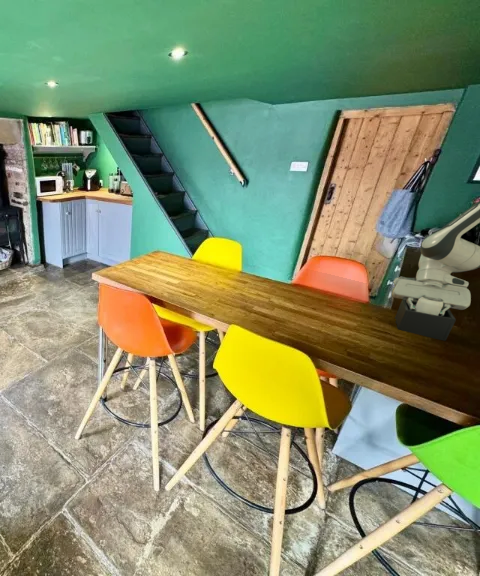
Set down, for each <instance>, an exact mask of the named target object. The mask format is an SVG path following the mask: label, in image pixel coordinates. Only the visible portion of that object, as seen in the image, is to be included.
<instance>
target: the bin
mask: <svg viewBox="0 0 480 576" xmlns="http://www.w3.org/2000/svg"><path fill="white" fill-rule="evenodd" d="M412 303H413V305H416V304H417V302H415V301H412ZM441 310H443V309H441ZM395 319H396V321H395V324H397V325H396V328H397V330H398V331H402V332H406V333H410V334H415V335H418V336H423V337H426V338H431V339H435V340H439V341H444V342H446V341H447V339H448V337H449V335H450V332H451V331H452V329H453V327H454V325H455V323H456V320H457V319H456V318H455V316H454V314H453V313H452V311H451V310H450V308H449V309H448V310H446V311H445V313H444V316H438V315H432V314H427V313H422V312H417V311H412V310H409V306H408V304H407V303H406V300H404V299H401V302H400V304H399V307H398V309H397V311H396V314H395V317H394V320H395Z"/></svg>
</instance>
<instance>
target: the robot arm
mask: <svg viewBox="0 0 480 576" xmlns="http://www.w3.org/2000/svg"><path fill="white" fill-rule="evenodd" d="M478 224H480V200H479V201H478V202H476V203H475V204H473V205H472V206H471V207H469V208H468V209H466V210H464V211H463V212H462V213H461V214H459V215H458V216H456V218H453V220H451V221H449V222H448V223H447V224H446V225H444V226H443V227H441V228H440V229H438V230H436V231H434V232H432V233H431V234H429V235H428V236H426V237H425V238H424V239H423V240H422V241H421V242H420V246H419V248H420V249H419V251H420V257H419V260H418V270H417V272H416V274H415V277H405V276H399V277H398V276H397V277H395V278H394V280H393V285H394V287H393V290H392V293H391V296H392V298H394V299H400V300H402V299H403V300H406V303H407V304H408V306H409V310H412V311H414V310H415V309H416V305H413V303H412V301H414V302H418V300H419V299H420V298H421V297H422V296H423V295H425V296H426V297H432V298H436V299H439V298H440V299H443V300H444V301H443V307H442V309H443V310H441V311H440V313H439V315H438V316H444V313H445V311H446V310H448V309H449V310H450V309H455V310H460V311H463V310H466V309H467V308H469V307H470V306H471V301H472V299H471V298H472V295H471V291H470V290H469V288H468V287H469V284H470V283H469V281H466V280H464V279H461V278H458V277H456V276H453V275H451V274H452V273H463V272H468V271H474V270H476V269H478V268H480V245H478V244H476V243H473V242H471V241H468V240H466V239H464V238H462V236H463V235H464V234H466V233H467V232H469V231H470V230H471V229H473V228H475V226H477V225H478Z"/></svg>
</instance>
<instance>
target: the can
mask: <svg viewBox="0 0 480 576" xmlns="http://www.w3.org/2000/svg"><path fill="white" fill-rule="evenodd" d="M443 301H444V300H443V299H440V298H439V299H436V298H432V297H426V296H425V295H423V296H422V297H421V298H420V299H419V300H418V302H417V304H416V309H415V310H414V311H417V312H422V313H427V314H432V315H439V313H440V311H441V309H442V307H443Z"/></svg>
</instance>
